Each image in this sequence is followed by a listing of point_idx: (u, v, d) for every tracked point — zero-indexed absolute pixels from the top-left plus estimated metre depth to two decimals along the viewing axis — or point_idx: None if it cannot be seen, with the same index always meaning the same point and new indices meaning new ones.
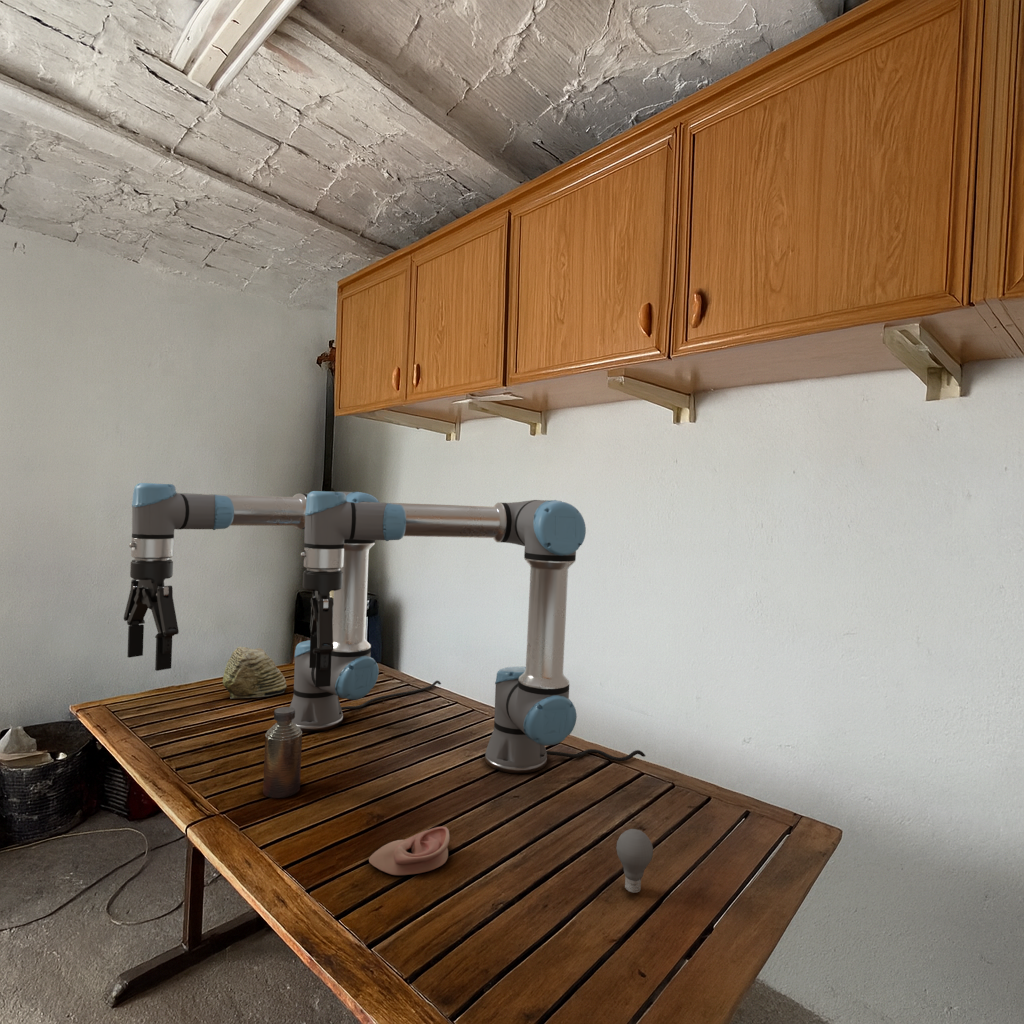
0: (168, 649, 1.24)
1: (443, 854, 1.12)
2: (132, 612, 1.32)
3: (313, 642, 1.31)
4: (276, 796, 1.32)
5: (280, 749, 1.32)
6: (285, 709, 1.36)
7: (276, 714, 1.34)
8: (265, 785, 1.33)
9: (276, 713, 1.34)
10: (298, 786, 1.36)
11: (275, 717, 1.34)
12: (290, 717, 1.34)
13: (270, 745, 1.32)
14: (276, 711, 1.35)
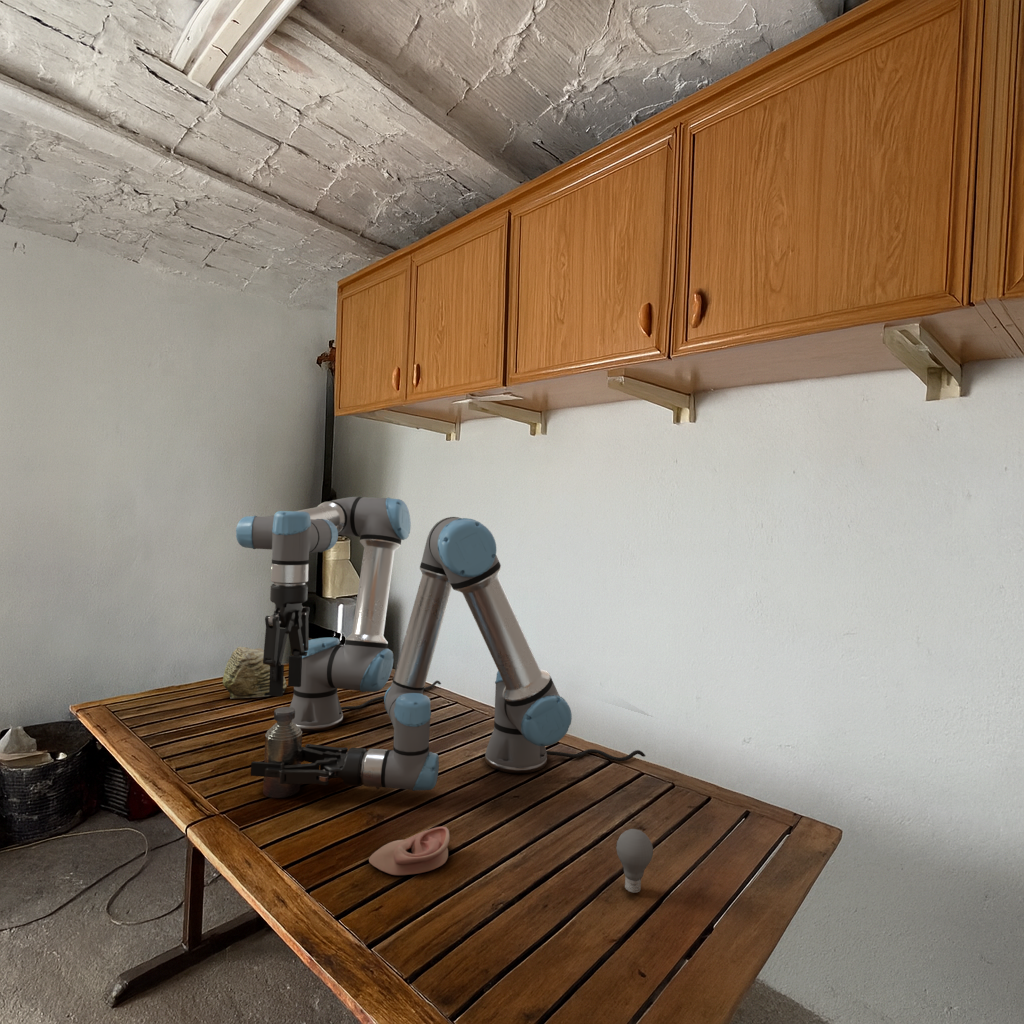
0: (273, 677, 1.31)
1: (443, 854, 1.12)
2: None
3: None
4: (276, 796, 1.32)
5: (280, 749, 1.32)
6: (285, 709, 1.36)
7: (276, 714, 1.34)
8: (265, 785, 1.33)
9: (276, 713, 1.34)
10: (298, 786, 1.36)
11: (275, 717, 1.34)
12: (290, 717, 1.34)
13: (270, 745, 1.32)
14: (276, 711, 1.35)
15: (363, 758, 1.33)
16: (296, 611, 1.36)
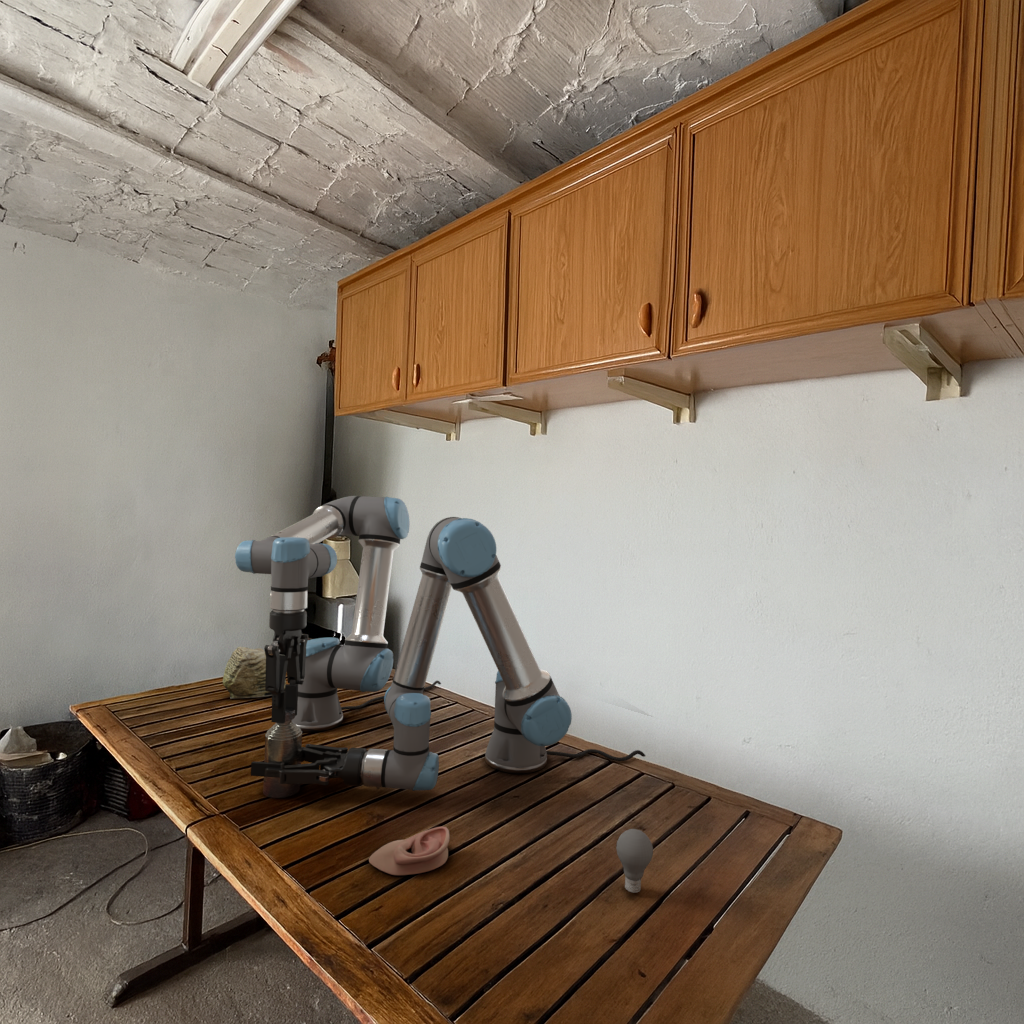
0: (275, 704, 1.32)
1: (443, 854, 1.12)
2: None
3: None
4: (276, 796, 1.32)
5: (280, 749, 1.32)
6: (285, 709, 1.36)
7: None
8: (265, 785, 1.33)
9: None
10: (298, 786, 1.36)
11: None
12: (290, 717, 1.34)
13: (270, 745, 1.32)
14: None
15: (363, 758, 1.33)
16: (295, 637, 1.36)
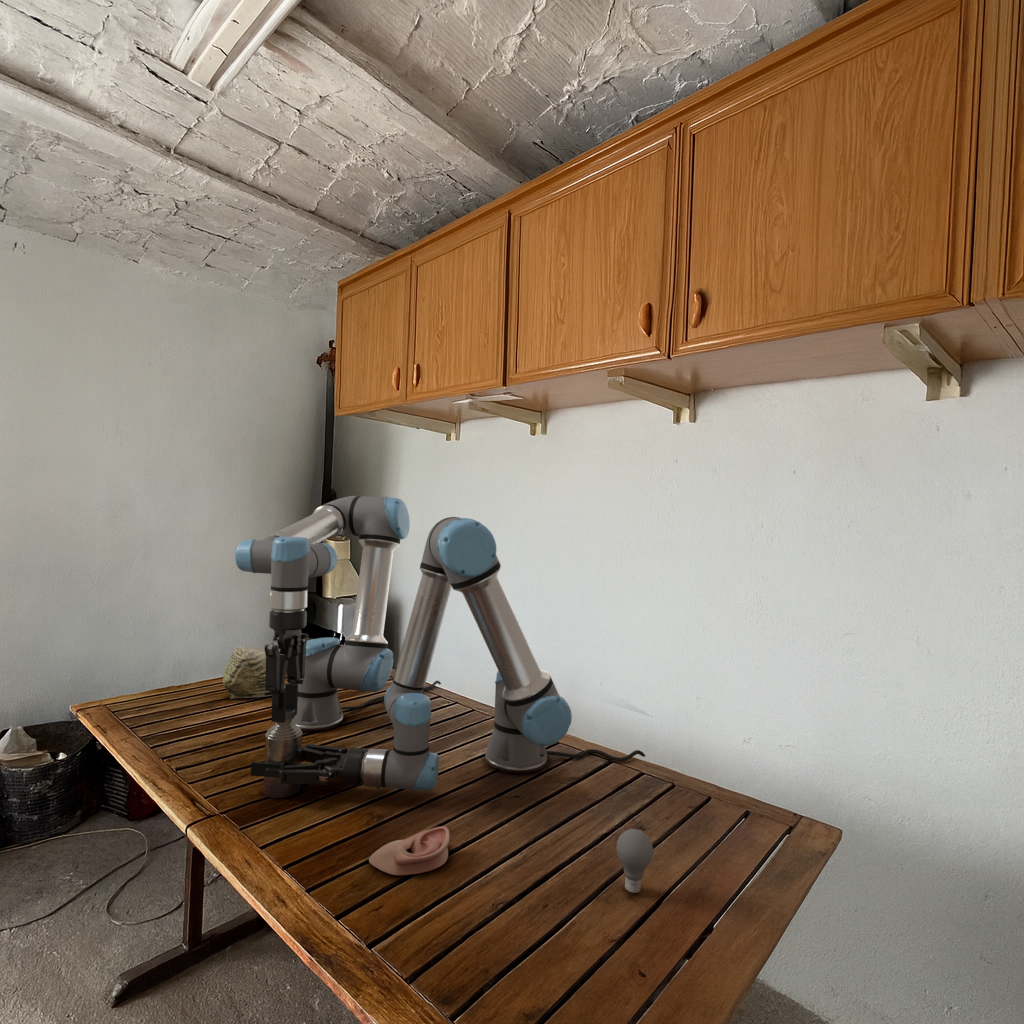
0: (275, 704, 1.32)
1: (443, 854, 1.12)
2: None
3: None
4: (276, 796, 1.32)
5: (280, 749, 1.32)
6: None
7: (293, 712, 1.35)
8: (265, 785, 1.33)
9: (293, 711, 1.35)
10: (298, 786, 1.36)
11: (292, 716, 1.35)
12: None
13: (270, 745, 1.32)
14: (290, 711, 1.35)
15: (363, 758, 1.33)
16: (295, 637, 1.36)
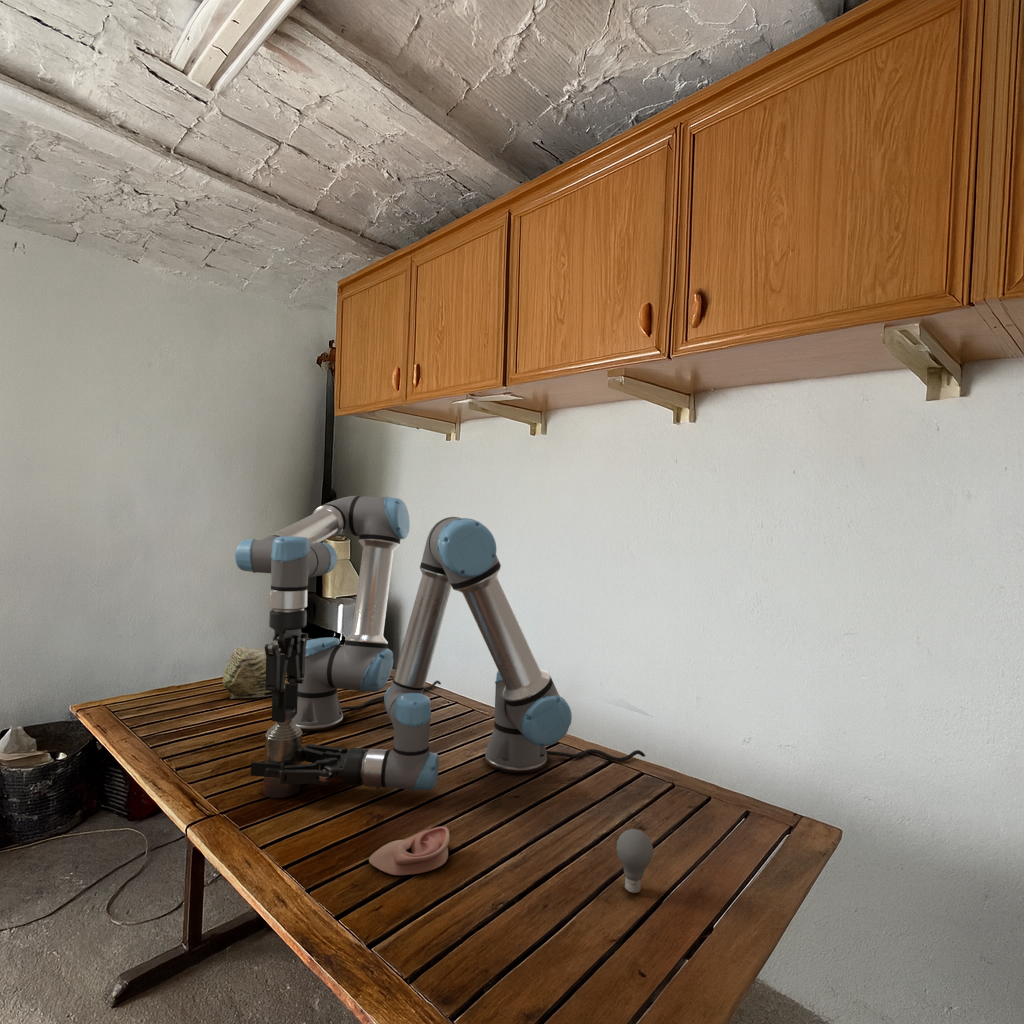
0: (276, 704, 1.32)
1: (443, 854, 1.12)
2: None
3: None
4: (276, 796, 1.32)
5: (280, 749, 1.32)
6: None
7: None
8: (265, 785, 1.33)
9: None
10: (298, 786, 1.36)
11: None
12: None
13: (270, 745, 1.32)
14: (289, 706, 1.37)
15: (363, 758, 1.33)
16: (295, 636, 1.36)
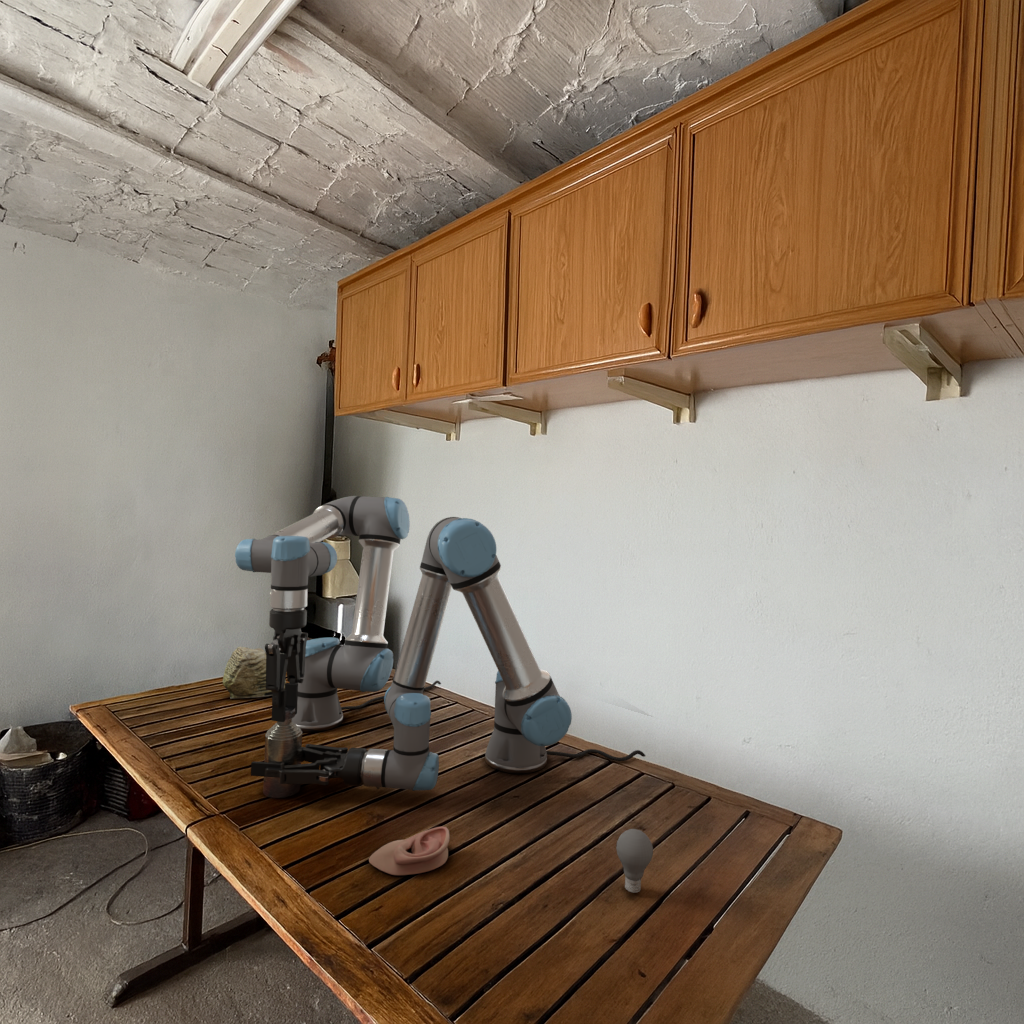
0: (276, 703, 1.32)
1: (443, 854, 1.12)
2: None
3: None
4: (276, 796, 1.32)
5: (280, 749, 1.32)
6: (286, 708, 1.36)
7: None
8: (265, 785, 1.33)
9: None
10: (298, 786, 1.36)
11: None
12: (285, 716, 1.34)
13: (270, 745, 1.32)
14: None
15: (363, 758, 1.33)
16: (295, 636, 1.36)
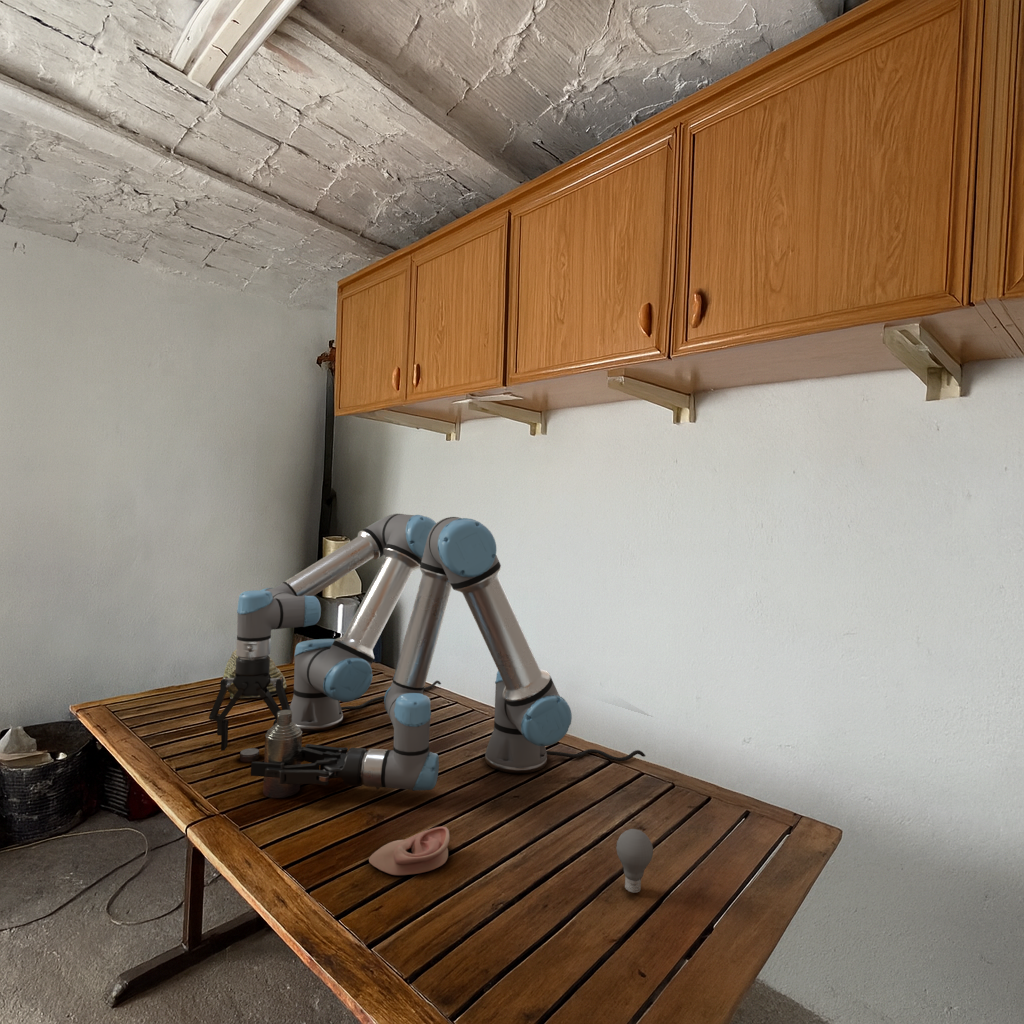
0: None
1: (443, 854, 1.12)
2: (227, 709, 1.49)
3: None
4: (276, 796, 1.32)
5: (280, 749, 1.32)
6: (248, 751, 1.51)
7: (253, 756, 1.50)
8: (265, 785, 1.33)
9: (253, 755, 1.50)
10: (298, 786, 1.36)
11: (252, 759, 1.49)
12: None
13: (270, 745, 1.32)
14: (250, 754, 1.49)
15: (363, 758, 1.33)
16: None
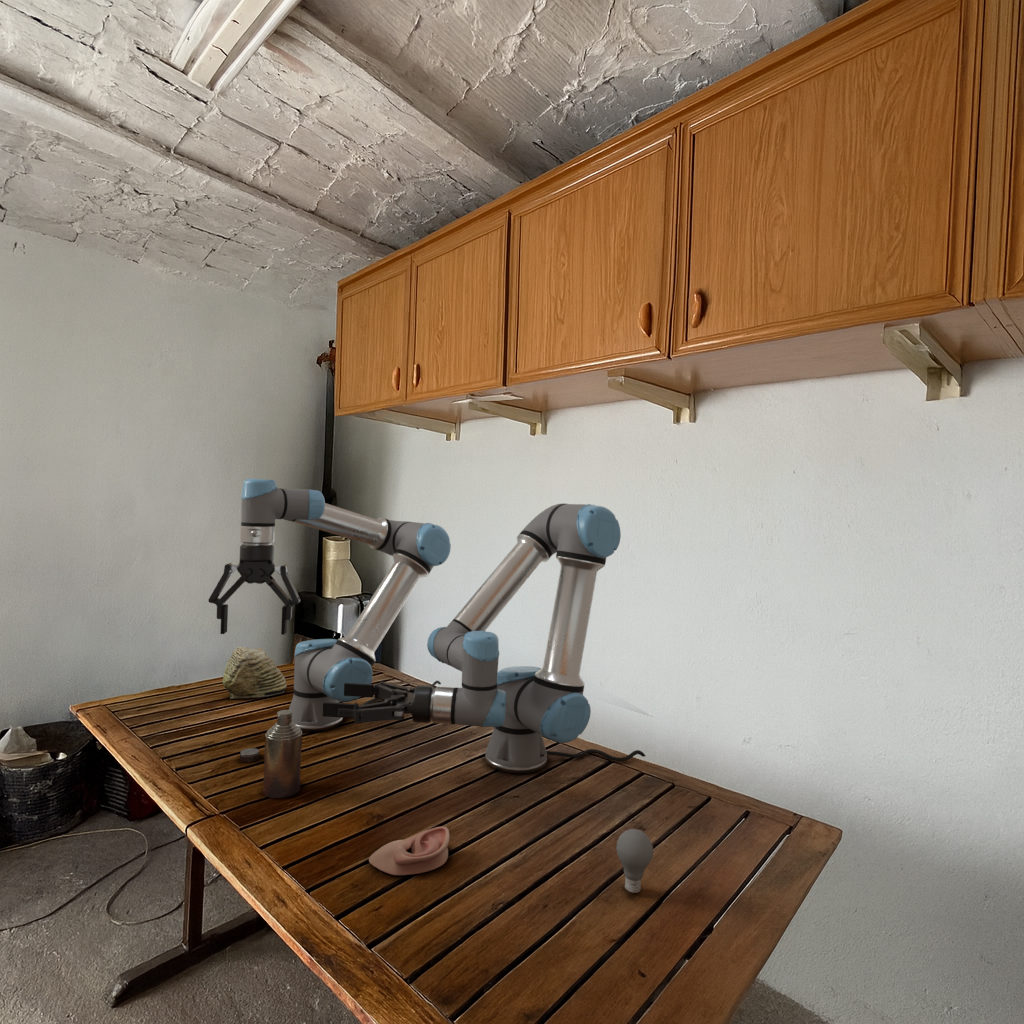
0: (291, 616, 1.52)
1: (443, 854, 1.12)
2: (228, 593, 1.48)
3: None
4: (276, 796, 1.32)
5: (280, 749, 1.32)
6: (248, 751, 1.51)
7: (253, 756, 1.50)
8: (265, 785, 1.33)
9: (253, 755, 1.50)
10: (298, 786, 1.36)
11: (252, 759, 1.49)
12: None
13: (270, 745, 1.32)
14: (250, 754, 1.49)
15: (432, 694, 1.32)
16: None
